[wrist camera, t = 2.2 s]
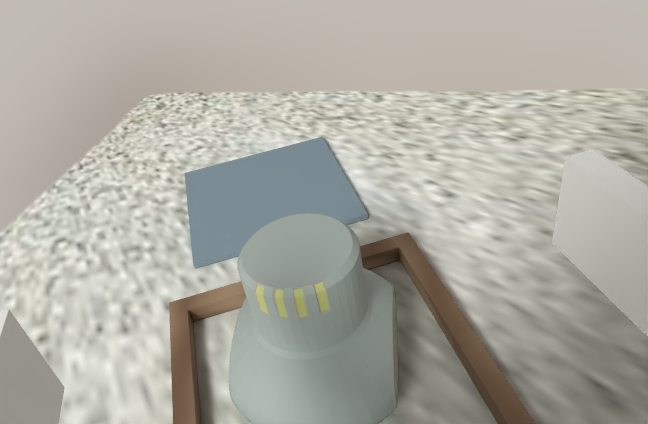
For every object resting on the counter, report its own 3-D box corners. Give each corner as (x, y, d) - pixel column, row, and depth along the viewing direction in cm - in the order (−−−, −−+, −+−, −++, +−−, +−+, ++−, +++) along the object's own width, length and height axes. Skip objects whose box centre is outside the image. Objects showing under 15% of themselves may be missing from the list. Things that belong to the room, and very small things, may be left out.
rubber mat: (323, 141, 53) (322, 136, 53) (368, 218, 42) (367, 213, 41) (186, 177, 51) (184, 173, 51) (195, 268, 40) (193, 263, 40)
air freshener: (399, 472, 26) (383, 339, 20) (238, 467, 27) (177, 342, 21) (398, 304, 34) (386, 177, 28) (275, 307, 36) (239, 187, 30)
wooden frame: (409, 245, 39) (408, 232, 38) (551, 465, 25) (554, 452, 24) (174, 314, 36) (169, 302, 36) (187, 599, 23) (178, 589, 22)
